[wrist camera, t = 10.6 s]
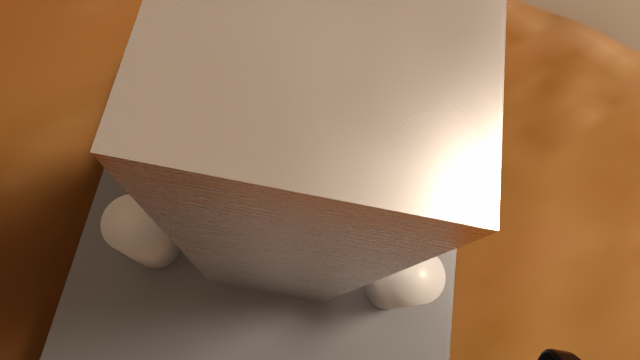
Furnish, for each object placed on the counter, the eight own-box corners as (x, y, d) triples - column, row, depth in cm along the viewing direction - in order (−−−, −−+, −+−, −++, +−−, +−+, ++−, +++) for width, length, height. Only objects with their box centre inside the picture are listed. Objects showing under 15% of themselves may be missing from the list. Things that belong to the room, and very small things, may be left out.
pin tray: (431, 427, 16) (497, 464, 12) (52, 367, 15) (-31, 383, 11) (453, 122, 20) (509, 64, 16) (152, 59, 19) (122, -23, 15)
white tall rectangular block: (325, 301, 16) (498, 231, 5) (209, 281, 16) (90, 153, 4) (345, 167, 18) (510, -130, 6) (240, 146, 17) (214, -206, 6)
